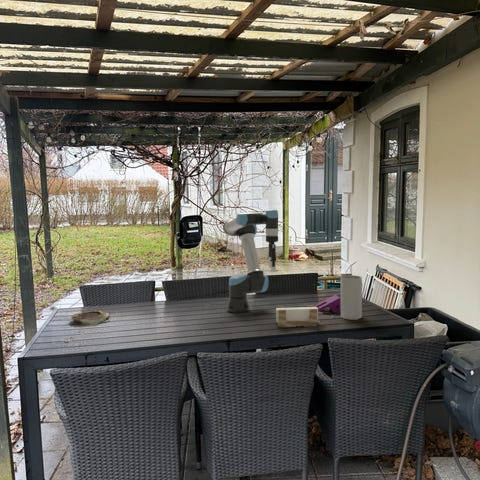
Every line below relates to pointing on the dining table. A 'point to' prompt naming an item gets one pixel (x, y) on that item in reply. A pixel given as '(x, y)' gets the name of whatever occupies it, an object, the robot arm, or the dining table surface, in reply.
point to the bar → (297, 313)
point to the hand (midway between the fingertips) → (272, 269)
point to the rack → (283, 322)
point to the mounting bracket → (330, 304)
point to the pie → (90, 317)
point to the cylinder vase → (351, 297)
